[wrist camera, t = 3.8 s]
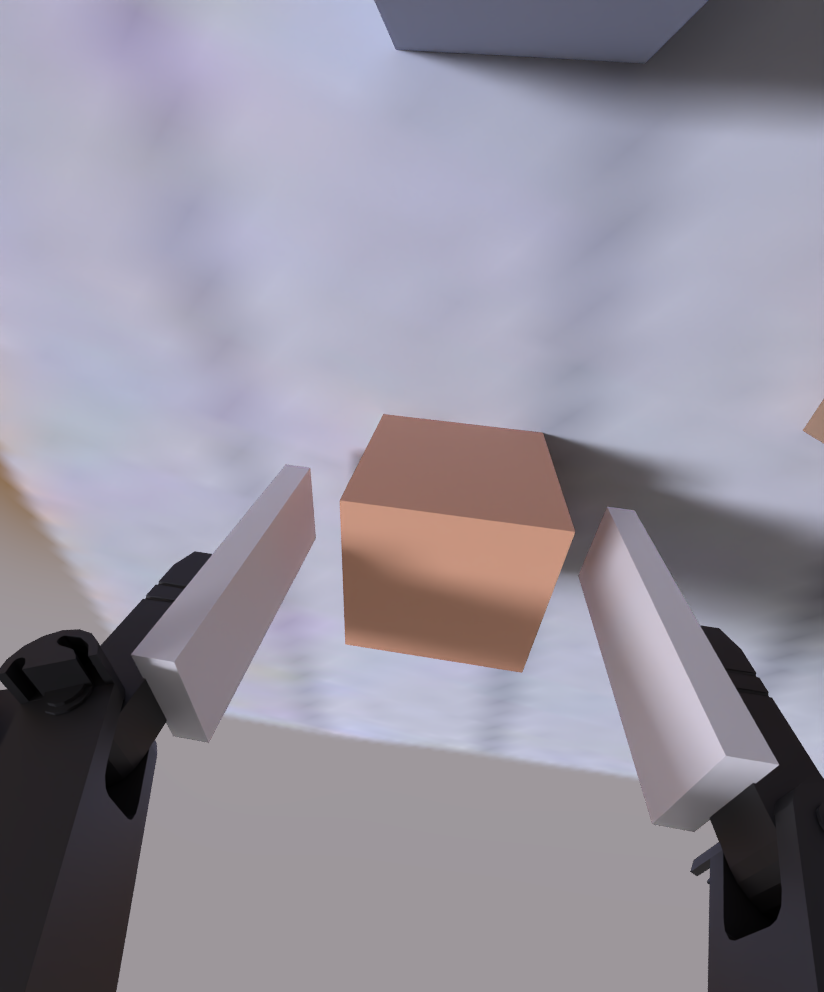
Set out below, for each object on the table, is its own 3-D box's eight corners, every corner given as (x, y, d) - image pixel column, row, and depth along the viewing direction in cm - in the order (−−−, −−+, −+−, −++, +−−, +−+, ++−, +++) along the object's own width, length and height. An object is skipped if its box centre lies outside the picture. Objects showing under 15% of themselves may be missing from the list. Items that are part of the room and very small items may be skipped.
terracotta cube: (542, 431, 12) (575, 531, 8) (509, 552, 15) (522, 672, 11) (383, 413, 13) (339, 500, 9) (380, 534, 16) (345, 644, 11)
